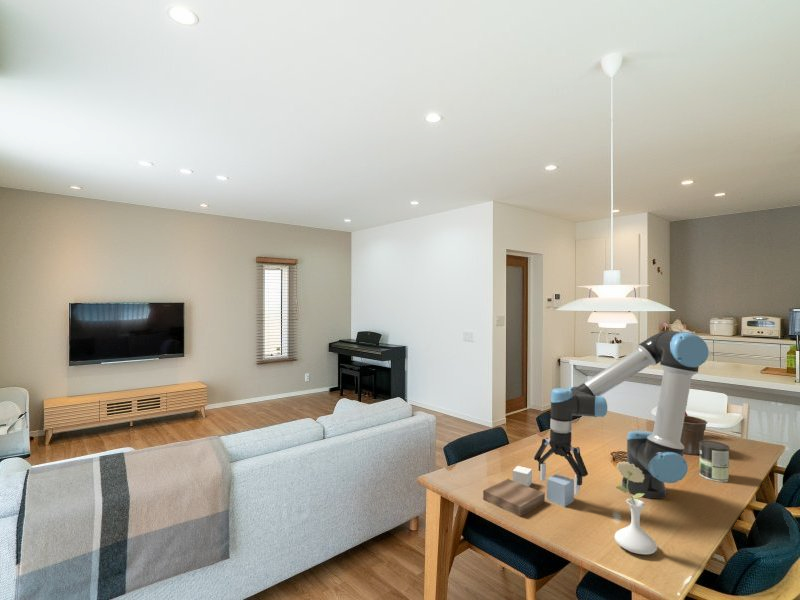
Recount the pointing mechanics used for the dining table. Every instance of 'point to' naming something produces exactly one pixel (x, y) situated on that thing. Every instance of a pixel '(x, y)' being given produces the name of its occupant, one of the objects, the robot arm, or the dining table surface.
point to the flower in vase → (634, 516)
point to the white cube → (522, 475)
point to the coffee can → (714, 461)
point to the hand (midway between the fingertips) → (559, 486)
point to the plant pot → (692, 434)
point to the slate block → (560, 490)
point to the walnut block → (514, 497)
